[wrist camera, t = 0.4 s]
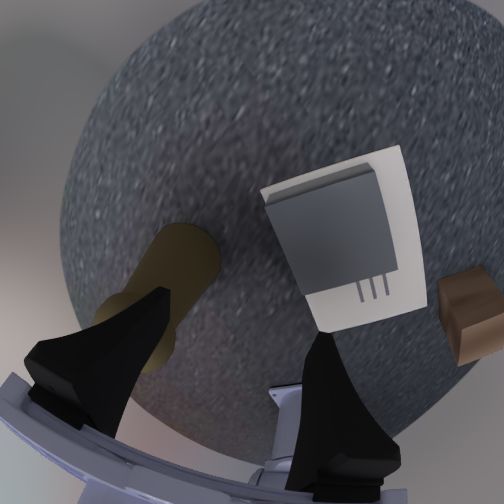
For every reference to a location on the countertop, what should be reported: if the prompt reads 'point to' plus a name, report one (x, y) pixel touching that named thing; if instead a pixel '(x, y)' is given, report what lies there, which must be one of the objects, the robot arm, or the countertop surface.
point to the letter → (405, 245)
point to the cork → (169, 280)
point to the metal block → (333, 229)
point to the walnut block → (471, 314)
